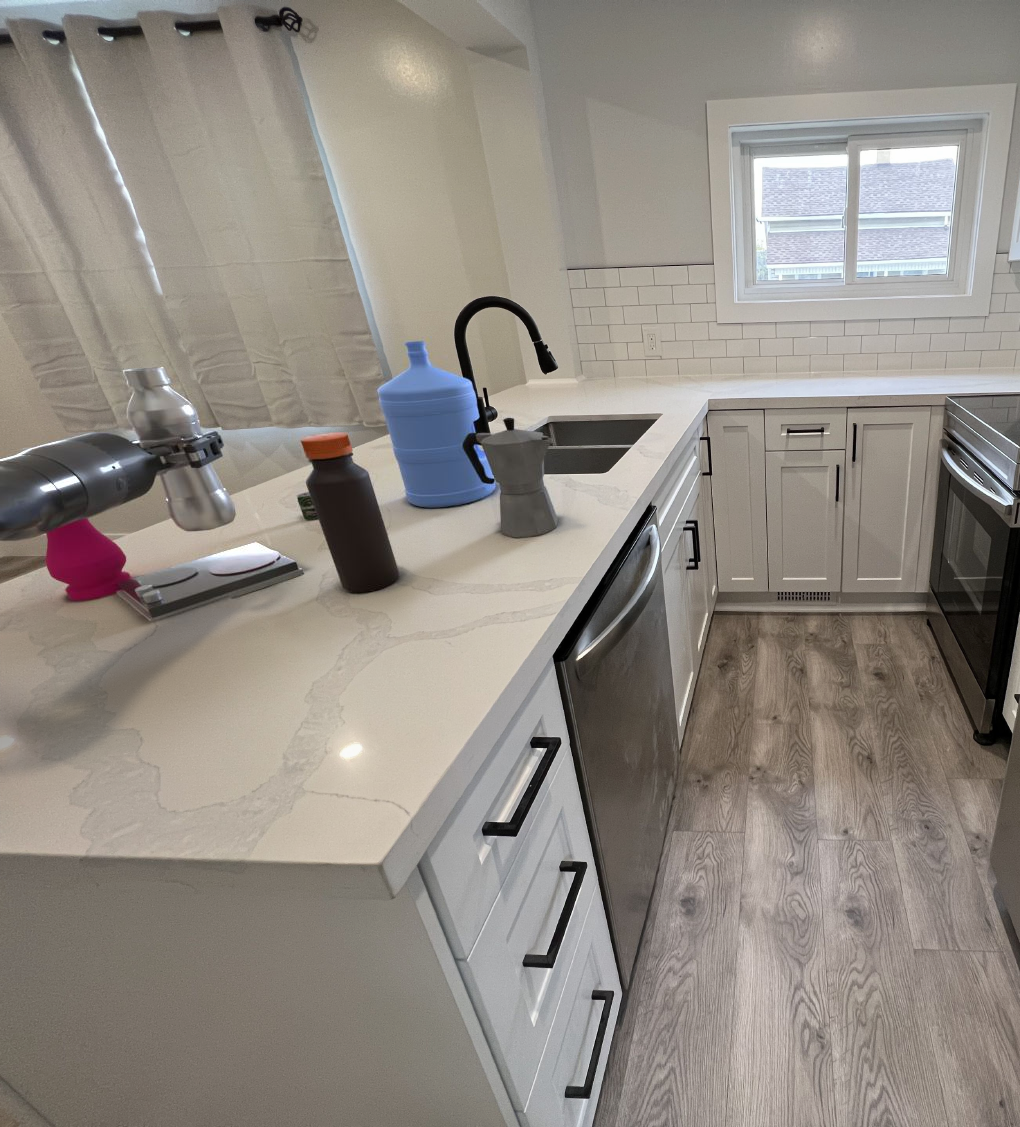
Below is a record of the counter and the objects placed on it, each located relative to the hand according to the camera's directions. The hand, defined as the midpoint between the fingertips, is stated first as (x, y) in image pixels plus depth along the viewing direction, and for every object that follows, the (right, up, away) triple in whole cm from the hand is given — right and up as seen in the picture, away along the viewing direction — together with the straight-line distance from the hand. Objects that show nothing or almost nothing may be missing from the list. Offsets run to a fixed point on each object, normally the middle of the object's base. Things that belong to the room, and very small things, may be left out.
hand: (187, 441), depth 77 cm
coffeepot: (+34, -10, +23) cm, 42 cm away
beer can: (-6, -8, +31) cm, 33 cm away
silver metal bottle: (+1, -11, +3) cm, 11 cm away
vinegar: (+20, -18, +6) cm, 28 cm away
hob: (-3, -18, +7) cm, 20 cm away
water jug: (+14, -3, +40) cm, 43 cm away
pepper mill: (-17, -20, +6) cm, 26 cm away
